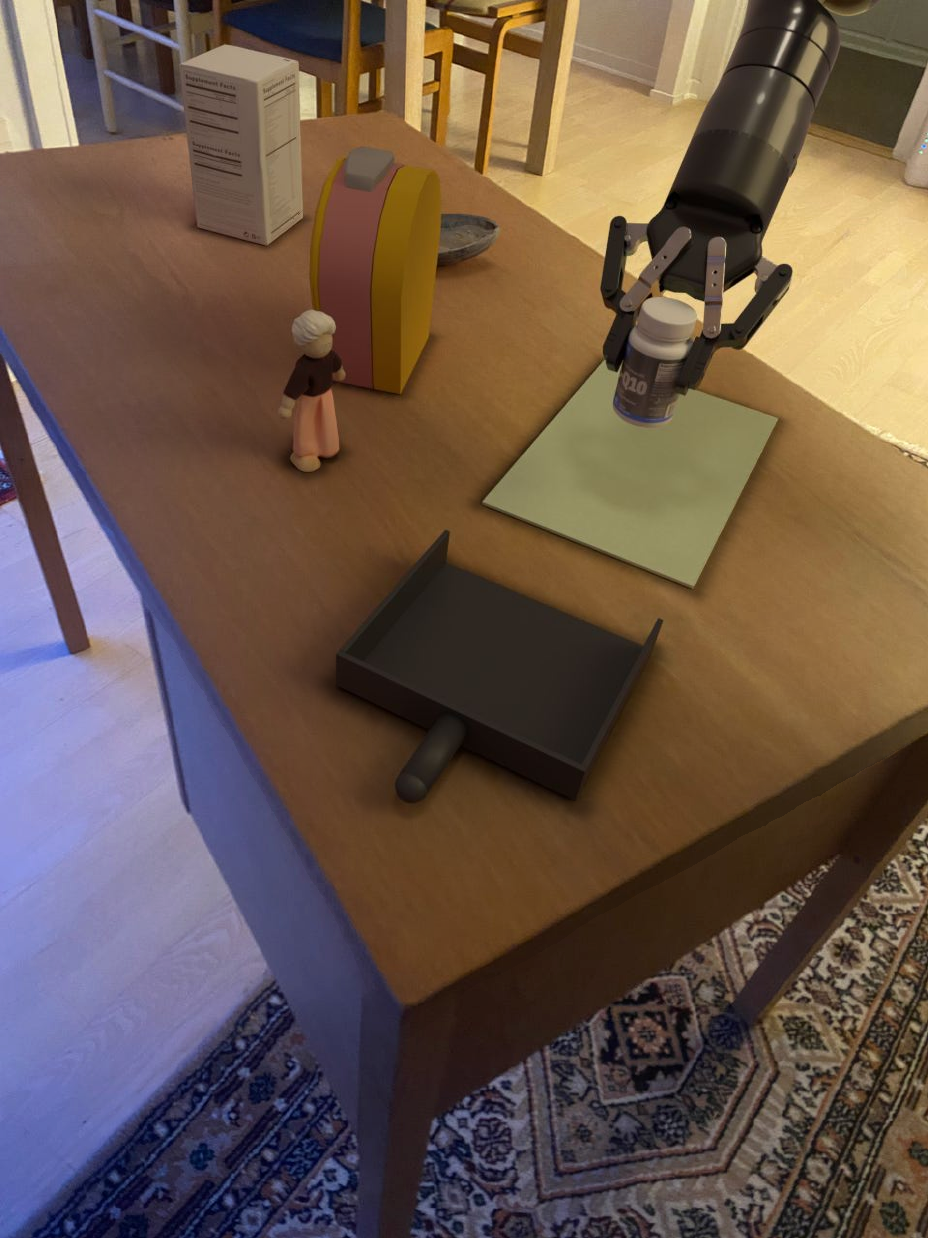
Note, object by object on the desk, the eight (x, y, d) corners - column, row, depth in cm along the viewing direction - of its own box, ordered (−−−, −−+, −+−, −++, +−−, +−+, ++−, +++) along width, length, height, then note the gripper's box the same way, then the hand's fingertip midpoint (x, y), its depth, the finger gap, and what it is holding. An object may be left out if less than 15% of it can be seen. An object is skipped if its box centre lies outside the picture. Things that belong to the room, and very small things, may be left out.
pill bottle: (600, 400, 70) (623, 296, 64) (651, 391, 71) (679, 290, 65) (631, 434, 67) (659, 329, 61) (684, 424, 68) (716, 321, 62)
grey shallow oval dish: (455, 229, 110) (459, 186, 107) (503, 273, 103) (509, 230, 99) (338, 241, 104) (338, 197, 101) (380, 289, 97) (381, 243, 93)
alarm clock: (355, 313, 93) (358, 119, 80) (432, 328, 92) (448, 135, 79) (308, 386, 82) (303, 176, 69) (395, 404, 82) (406, 195, 69)
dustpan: (441, 562, 67) (445, 529, 65) (651, 652, 63) (664, 619, 61) (280, 753, 54) (278, 719, 52) (533, 883, 50) (543, 853, 47)
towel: (604, 361, 91) (605, 358, 91) (777, 420, 86) (778, 417, 86) (481, 504, 73) (482, 501, 72) (692, 589, 68) (693, 586, 68)
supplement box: (236, 200, 110) (224, 41, 98) (305, 218, 108) (301, 58, 96) (194, 228, 103) (175, 61, 91) (266, 247, 101) (257, 79, 89)
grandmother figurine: (317, 484, 72) (314, 340, 63) (274, 471, 73) (266, 326, 64) (357, 436, 78) (360, 296, 69) (317, 424, 78) (315, 284, 69)
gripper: (643, 102, 63) (547, 330, 63) (847, 153, 59) (743, 395, 59) (649, 162, 70) (563, 366, 70) (832, 211, 66) (739, 426, 67)
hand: (646, 378), depth 65 cm, fingers closed on pill bottle, 4 cm apart
